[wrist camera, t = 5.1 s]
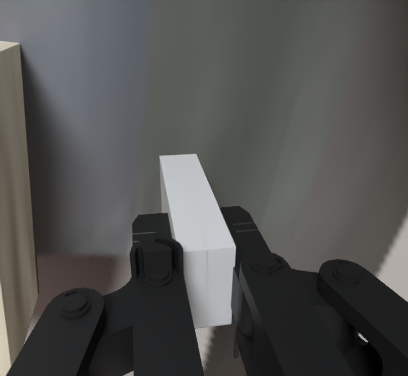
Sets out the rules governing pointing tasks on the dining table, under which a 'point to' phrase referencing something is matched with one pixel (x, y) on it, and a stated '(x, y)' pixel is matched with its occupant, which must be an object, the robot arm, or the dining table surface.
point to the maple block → (14, 213)
